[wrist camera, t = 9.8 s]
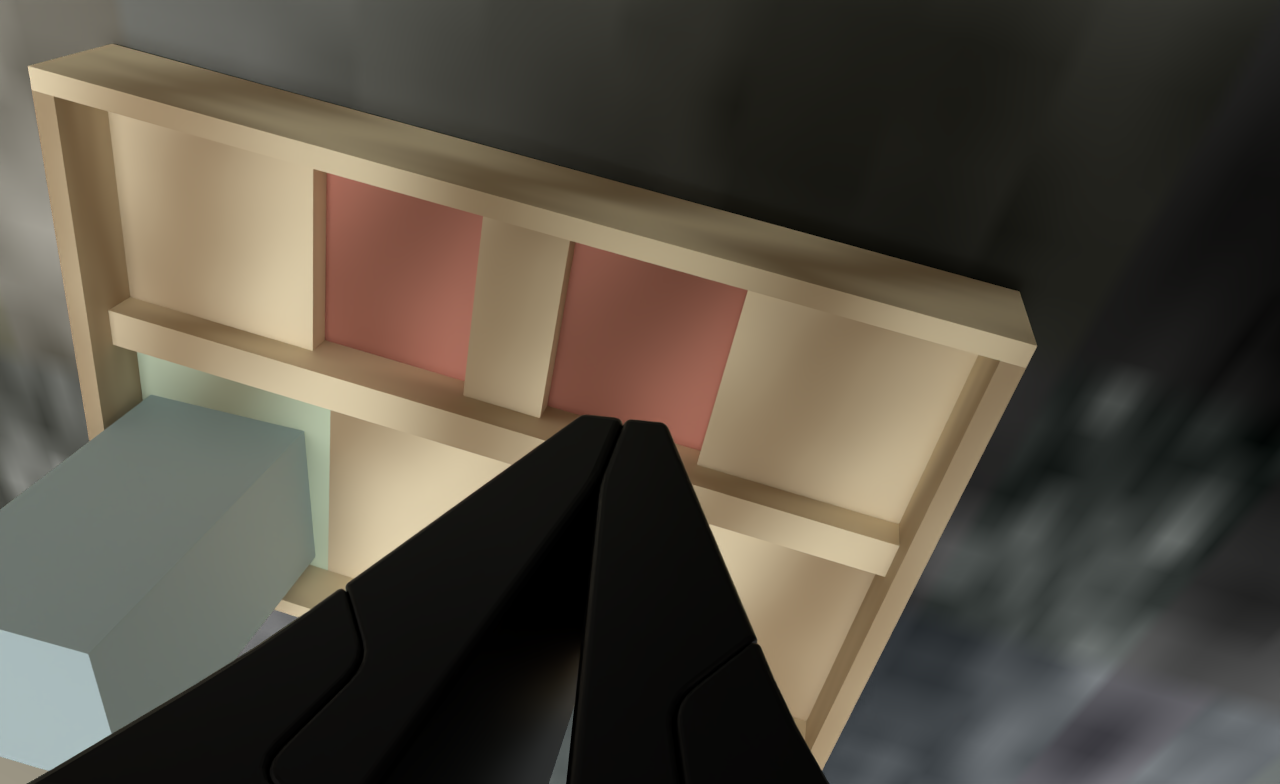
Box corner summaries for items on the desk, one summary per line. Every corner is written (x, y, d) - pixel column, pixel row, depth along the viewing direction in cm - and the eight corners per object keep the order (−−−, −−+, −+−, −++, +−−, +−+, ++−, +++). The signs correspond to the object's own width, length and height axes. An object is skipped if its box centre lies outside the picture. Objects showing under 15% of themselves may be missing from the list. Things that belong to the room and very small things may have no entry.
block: (304, 431, 24) (88, 654, 18) (315, 556, 27) (129, 794, 20) (150, 394, 25) (-116, 597, 18) (175, 520, 27) (-52, 740, 21)
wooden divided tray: (1019, 291, 19) (1037, 346, 17) (820, 709, 27) (815, 782, 25) (112, 43, 21) (27, 65, 19) (164, 504, 29) (108, 556, 26)
